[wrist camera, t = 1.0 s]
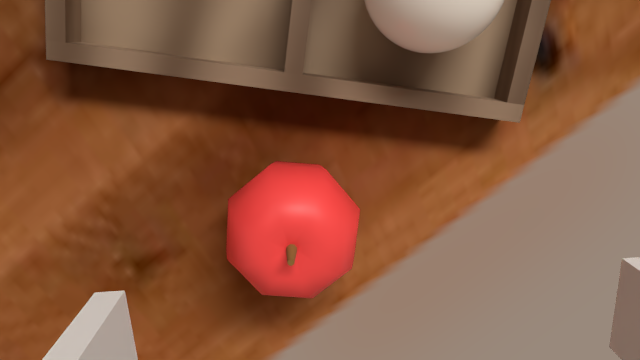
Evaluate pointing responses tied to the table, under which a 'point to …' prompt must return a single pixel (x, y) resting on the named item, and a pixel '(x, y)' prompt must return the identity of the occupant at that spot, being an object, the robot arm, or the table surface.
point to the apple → (292, 230)
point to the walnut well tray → (303, 50)
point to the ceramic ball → (432, 22)
